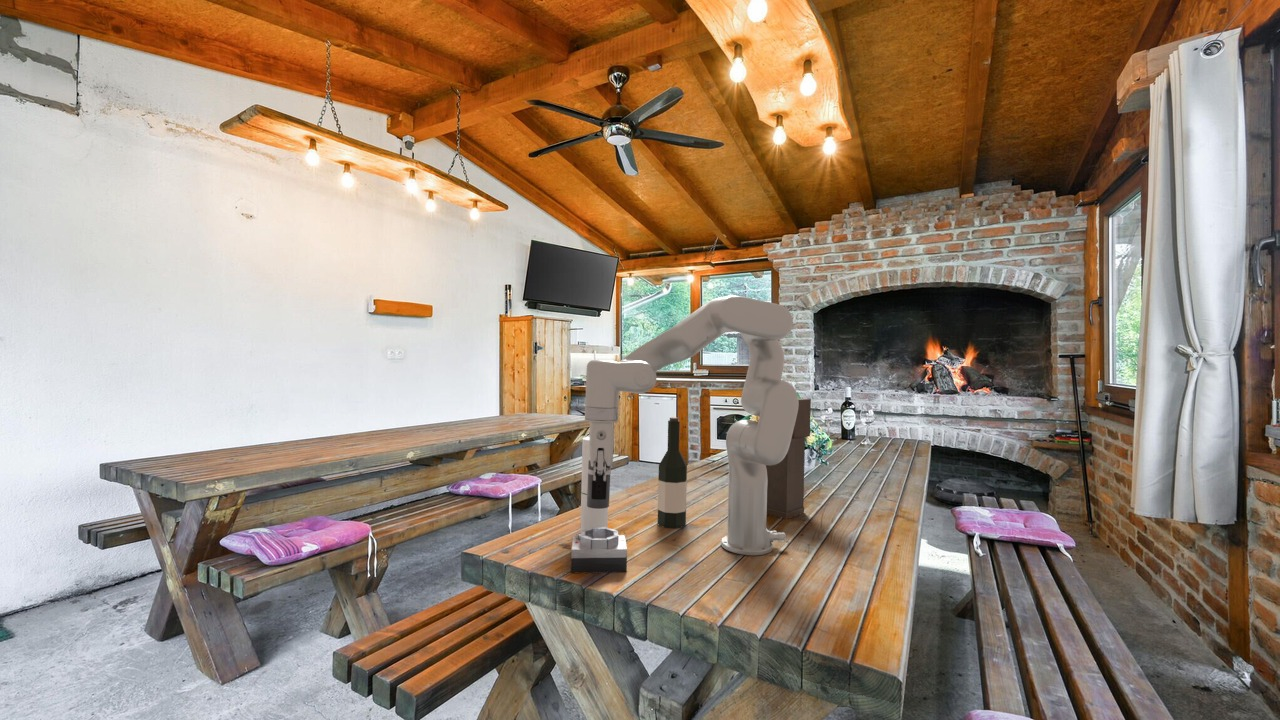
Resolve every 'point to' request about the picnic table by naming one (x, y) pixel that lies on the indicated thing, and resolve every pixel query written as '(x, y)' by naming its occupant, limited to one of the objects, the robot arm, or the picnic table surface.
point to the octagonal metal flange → (599, 551)
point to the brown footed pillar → (790, 470)
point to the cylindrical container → (588, 515)
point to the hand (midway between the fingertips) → (598, 494)
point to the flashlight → (591, 502)
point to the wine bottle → (672, 482)
